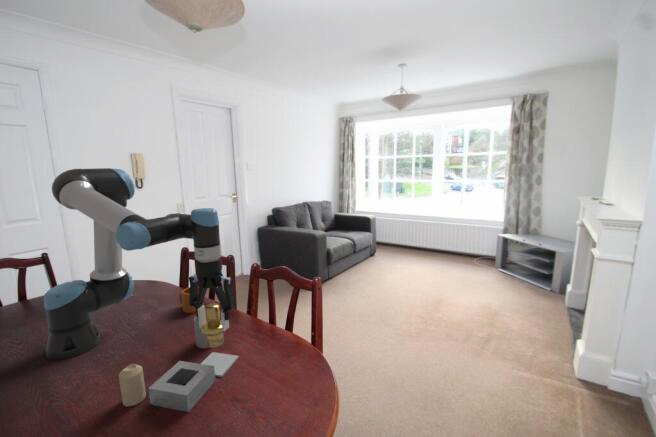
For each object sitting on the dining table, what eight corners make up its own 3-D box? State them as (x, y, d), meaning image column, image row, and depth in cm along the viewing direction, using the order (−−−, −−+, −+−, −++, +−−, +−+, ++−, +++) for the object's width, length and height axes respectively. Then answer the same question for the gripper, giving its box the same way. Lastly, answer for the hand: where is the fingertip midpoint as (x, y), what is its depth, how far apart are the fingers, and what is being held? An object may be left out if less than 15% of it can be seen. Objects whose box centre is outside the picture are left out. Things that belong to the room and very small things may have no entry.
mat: (193, 372, 95) (193, 370, 95) (212, 353, 104) (212, 352, 104) (222, 377, 93) (221, 375, 92) (238, 357, 102) (238, 355, 102)
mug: (191, 301, 146) (190, 283, 145) (207, 307, 140) (206, 288, 139) (174, 308, 139) (172, 289, 137) (190, 314, 133) (189, 295, 131)
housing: (150, 404, 82) (148, 388, 81) (181, 375, 94) (179, 360, 93) (188, 412, 79) (186, 395, 79) (215, 381, 91) (214, 366, 90)
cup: (211, 349, 107) (209, 323, 105) (191, 346, 109) (188, 321, 107) (224, 336, 115) (222, 312, 114) (205, 334, 117) (203, 310, 115)
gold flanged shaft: (197, 348, 94) (194, 310, 92) (212, 335, 102) (209, 299, 100) (219, 351, 93) (216, 312, 91) (232, 337, 100) (229, 301, 98)
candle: (129, 392, 87) (125, 361, 85) (149, 391, 87) (145, 360, 85) (118, 407, 81) (113, 374, 80) (139, 406, 82) (135, 372, 80)
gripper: (171, 260, 91) (178, 330, 95) (231, 264, 87) (237, 337, 90) (187, 253, 99) (194, 318, 102) (244, 256, 94) (249, 324, 98)
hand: (214, 327), depth 96 cm, fingers closed on gold flanged shaft, 8 cm apart
